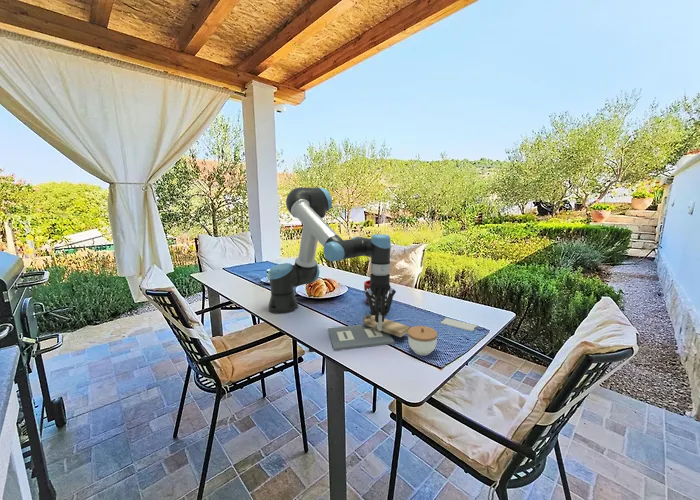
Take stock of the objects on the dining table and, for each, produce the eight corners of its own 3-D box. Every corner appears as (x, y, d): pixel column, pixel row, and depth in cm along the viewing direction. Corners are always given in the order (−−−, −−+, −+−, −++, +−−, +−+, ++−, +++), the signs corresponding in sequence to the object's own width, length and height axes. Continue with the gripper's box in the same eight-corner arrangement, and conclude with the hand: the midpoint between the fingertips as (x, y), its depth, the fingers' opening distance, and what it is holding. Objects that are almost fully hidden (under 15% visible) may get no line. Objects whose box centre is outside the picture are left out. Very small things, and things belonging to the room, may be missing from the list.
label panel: (328, 329, 130) (328, 325, 129) (380, 324, 134) (380, 320, 134) (334, 350, 112) (333, 345, 111) (394, 343, 116) (394, 338, 116)
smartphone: (445, 317, 140) (478, 325, 130) (445, 318, 140) (478, 326, 130) (439, 322, 134) (473, 331, 125) (439, 324, 134) (473, 332, 125)
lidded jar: (404, 345, 115) (404, 322, 113) (430, 343, 116) (431, 321, 114) (412, 360, 104) (412, 335, 103) (441, 358, 105) (442, 333, 103)
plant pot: (392, 301, 164) (392, 280, 162) (381, 308, 153) (381, 286, 151) (371, 297, 171) (371, 277, 169) (359, 304, 160) (359, 283, 158)
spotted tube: (386, 317, 142) (386, 277, 138) (369, 316, 144) (369, 276, 140) (387, 310, 150) (388, 272, 146) (371, 309, 152) (371, 272, 148)
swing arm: (359, 322, 130) (359, 316, 130) (369, 317, 135) (369, 311, 135) (400, 337, 116) (400, 329, 115) (410, 331, 121) (410, 323, 120)
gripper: (367, 276, 112) (366, 334, 116) (398, 275, 115) (397, 331, 118) (362, 271, 120) (362, 326, 123) (392, 270, 122) (391, 324, 126)
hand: (379, 329), depth 121 cm, fingers closed
